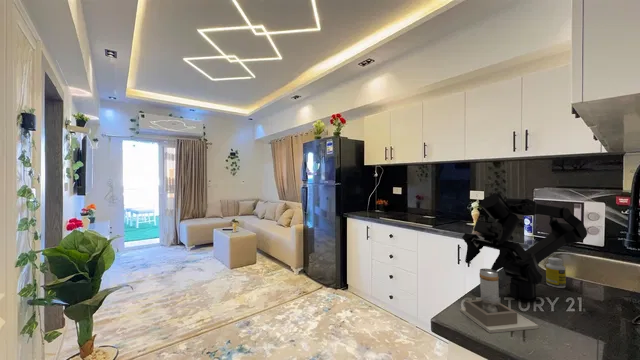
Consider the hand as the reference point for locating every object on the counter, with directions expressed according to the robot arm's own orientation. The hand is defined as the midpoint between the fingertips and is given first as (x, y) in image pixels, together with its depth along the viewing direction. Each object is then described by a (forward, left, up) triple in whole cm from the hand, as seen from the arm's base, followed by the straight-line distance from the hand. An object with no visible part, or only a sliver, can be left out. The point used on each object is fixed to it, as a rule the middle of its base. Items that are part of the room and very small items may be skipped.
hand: (478, 266), depth 83 cm
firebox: (+1, +8, -13) cm, 15 cm away
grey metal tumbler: (+3, +8, -12) cm, 14 cm away
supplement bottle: (-38, -10, -13) cm, 42 cm away
